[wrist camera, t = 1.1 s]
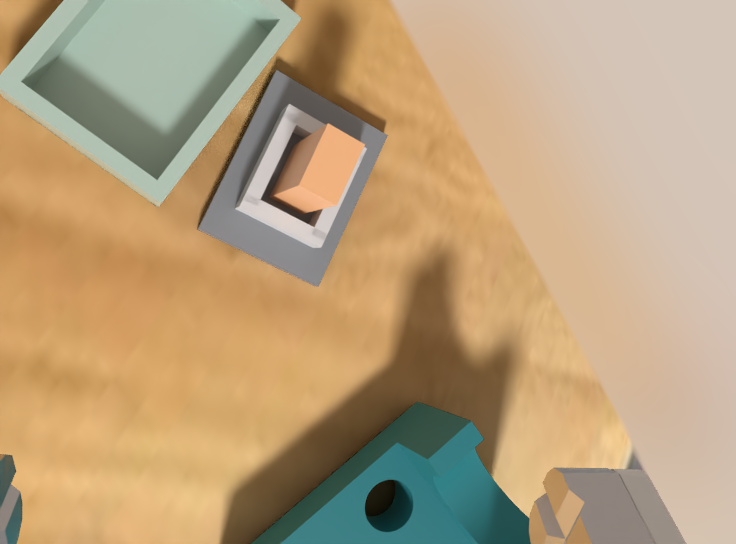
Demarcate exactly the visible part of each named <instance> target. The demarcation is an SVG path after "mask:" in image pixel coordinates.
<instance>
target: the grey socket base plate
mask: <svg viewBox="0 0 736 544" xmlns="http://www.w3.org/2000/svg"><path fill="white" fill-rule="evenodd" d="M328 123H329V124H330V125H332V126H334V127H336V128H337V129H339V130H341V131H343V132H344V133H346V134H348V135H349V136H351V137H353V138H355V139H356V140H358V141H360V142H362V143H363V144H365V146H364V148H363V150H362V152H361V155H360V157H359V159H358V161H357V163H356V165H355V168H354V170H353V172H352V174H351V176H350V178H349V180H348V183H347V185H346V187H345V189H344V191H343V193H342V196H341V198H340V200H339V202H338V204H337V206H333V207H329V208H325V209H320V210H316V211H312V212H308V213H304V214H301V213H299V212H297V211H295V210H293V209H291V208H289V207H287V206H285V205H283V204H281V203H279V202H277V201H275V200H273V199H272V198H270V195H271V192H272V190H273V188H274V186H275V184H276V182H277V180H278V178H279V176H280V174H281V172H282V169H283V167H284V165H285V163H286V161H287V159H288V157H289V155H290V153H291V151H292V149H293V146H294V145H295V144H297V143H298V142H300V141H301V140H303V139H305V138H306V137H308V136H309V135H311V134H312V133H314V132H315V131H317V130H318V129H320V128H322V127H323V126H325V125H326V124H328ZM387 136H388V135H386V134H385V133H383V132H381V131H380V130H378V129H376V128H374V127H373V126H371V125H369V124H368V123H366V122H364V121H363V120H361V119H359V118H357V117H356V116H354V115H352V114H351V113H349V112H347V111H346V110H344V109H342V108H340V107H339V106H337V105H335V104H334V103H332V102H330V101H329V100H327V99H325V98H324V97H322V96H320V95H318V94H317V93H315V92H313V91H312V90H310V89H308V88H307V87H305V86H303V85H301V84H300V83H298V82H296V81H295V80H293V79H291V78H290V77H288V76H286V75H284V74H283V73H281V72H279V71H278V70H276V71H275V72H274V74H273V76H272V78H271V80H270V82H269V84H268V86H267V88H266V90H265V92H264V94H263V96H262V98H261V100H260V102H259V104H258V106H257V108H256V110H255V112H254V114H253V116H252V118H251V120H250V122H249V125H248V127H247V129H246V131H245V133H244V135H243V137H242V139H241V141H240V143H239V145H238V147H237V149H236V151H235V153H234V155H233V157H232V159H231V161H230V163H229V165H228V167H227V169H226V171H225V173H224V175H223V177H222V180H221V182H220V184H219V186H218V188H217V190H216V192H215V194H214V196H213V198H212V200H211V202H210V204H209V206H208V208H207V210H206V212H205V214H204V216H203V218H202V220H201V222H200V224H199V226H198V228H197V230H199V231H201V232H204V233H206V234H208V235H210V236H212V237H214V238H216V239H218V240H220V241H222V242H224V243H226V244H228V245H231V246H233V247H235V248H237V249H239V250H241V251H243V252H245V253H247V254H249V255H251V256H253V257H255V258H257V259H260V260H262V261H264V262H266V263H268V264H270V265H272V266H274V267H276V268H278V269H280V270H282V271H284V272H287V273H289V274H291V275H293V276H295V277H297V278H299V279H301V280H303V281H305V282H307V283H309V284H311V285H313V286H319V284H320V282H321V280H322V278H323V276H324V273H325V271H326V269H327V267H328V265H329V262H330V260H331V258H332V256H333V254H334V252H335V249H336V247H337V245H338V243H339V241H340V238H341V236H342V234H343V232H344V230H345V228H346V225H347V223H348V221H349V219H350V217H351V214H352V212H353V210H354V208H355V206H356V204H357V201H358V199H359V197H360V195H361V193H362V191H363V188H364V186H365V184H366V182H367V180H368V177H369V175H370V173H371V171H372V169H373V167H374V164H375V162H376V160H377V158H378V156H379V153H380V151H381V149H382V147H383V145H384V143H385V140H386V138H387Z"/></svg>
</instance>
